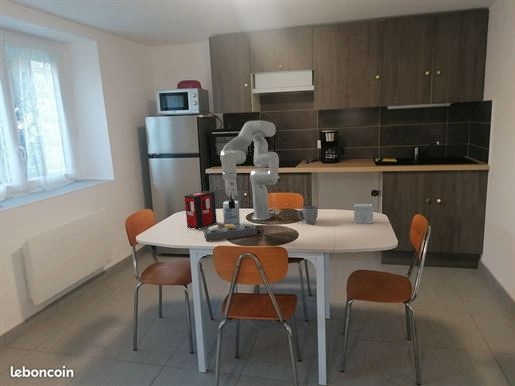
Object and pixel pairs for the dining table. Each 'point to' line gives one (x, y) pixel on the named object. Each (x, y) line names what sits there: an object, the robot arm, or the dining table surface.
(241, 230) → the power strip
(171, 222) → the dining table surface
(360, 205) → the skincare box
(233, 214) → the supplement tub
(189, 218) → the cleaning product box
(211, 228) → the rocker
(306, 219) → the mug
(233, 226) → the rocker middle
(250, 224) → the rocker
